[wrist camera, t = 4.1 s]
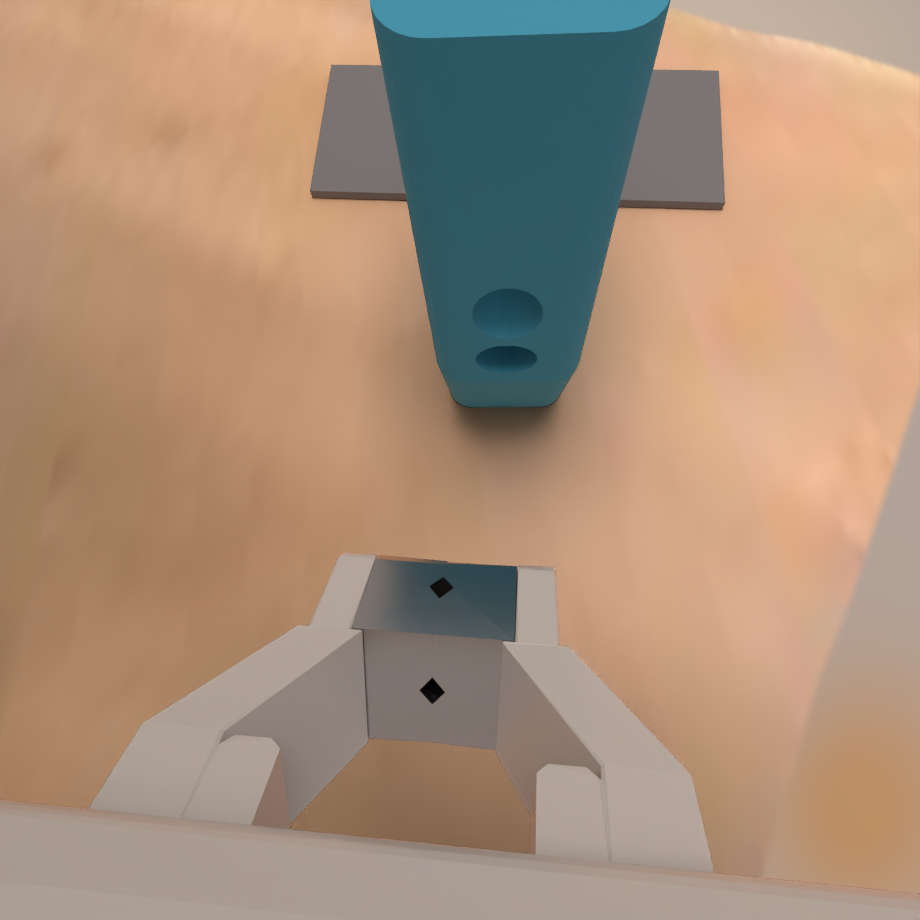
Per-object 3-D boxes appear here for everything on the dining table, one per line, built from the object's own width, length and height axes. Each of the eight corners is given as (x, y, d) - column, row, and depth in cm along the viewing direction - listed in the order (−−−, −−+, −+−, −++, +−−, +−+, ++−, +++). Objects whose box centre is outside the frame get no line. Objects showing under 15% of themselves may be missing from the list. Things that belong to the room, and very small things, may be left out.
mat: (312, 197, 35) (310, 190, 34) (333, 72, 37) (331, 64, 37) (721, 209, 33) (725, 202, 33) (715, 79, 36) (718, 70, 35)
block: (563, 444, 30) (677, 29, 11) (448, 444, 30) (366, 40, 11) (556, 211, 34) (631, -400, 15) (453, 213, 34) (397, -385, 15)
